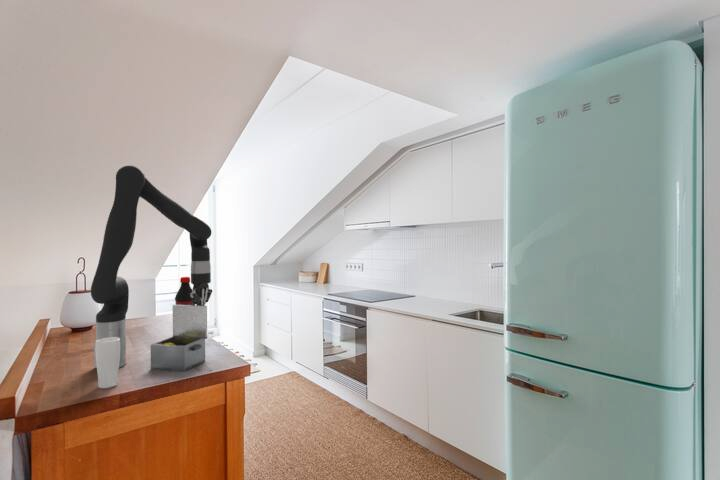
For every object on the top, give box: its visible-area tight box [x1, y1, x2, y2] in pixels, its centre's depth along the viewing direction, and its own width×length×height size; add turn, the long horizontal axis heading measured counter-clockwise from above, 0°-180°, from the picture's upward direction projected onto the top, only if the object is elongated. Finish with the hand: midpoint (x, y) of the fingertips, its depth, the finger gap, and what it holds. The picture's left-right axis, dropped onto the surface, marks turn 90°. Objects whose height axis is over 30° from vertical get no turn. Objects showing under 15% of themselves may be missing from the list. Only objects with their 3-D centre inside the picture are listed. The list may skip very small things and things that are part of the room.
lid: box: [172, 304, 208, 340], centre depth 148 cm, size 15×13×2 cm
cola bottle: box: [174, 276, 196, 305], centre depth 172 cm, size 8×8×30 cm
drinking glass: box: [94, 337, 120, 390], centre depth 121 cm, size 7×7×15 cm
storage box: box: [150, 335, 206, 373], centre depth 141 cm, size 16×12×9 cm
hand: (201, 313), depth 154 cm, fingers closed
